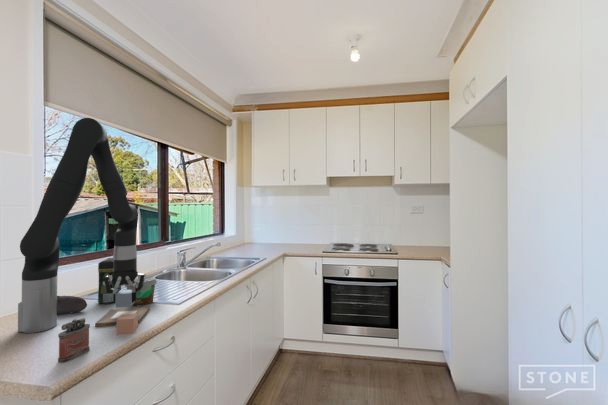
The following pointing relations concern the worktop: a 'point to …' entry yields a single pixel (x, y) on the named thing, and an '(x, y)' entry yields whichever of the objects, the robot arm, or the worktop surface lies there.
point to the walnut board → (114, 314)
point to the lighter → (73, 340)
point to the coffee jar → (104, 270)
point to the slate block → (124, 298)
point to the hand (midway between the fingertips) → (125, 302)
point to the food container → (144, 293)
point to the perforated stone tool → (70, 304)
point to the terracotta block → (127, 324)
